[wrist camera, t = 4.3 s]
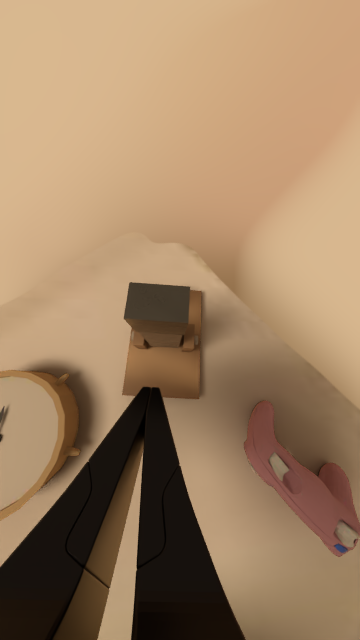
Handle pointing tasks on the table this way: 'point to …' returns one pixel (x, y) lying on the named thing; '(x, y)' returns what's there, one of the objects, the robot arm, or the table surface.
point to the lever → (158, 312)
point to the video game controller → (303, 484)
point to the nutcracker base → (167, 361)
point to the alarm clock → (33, 433)
